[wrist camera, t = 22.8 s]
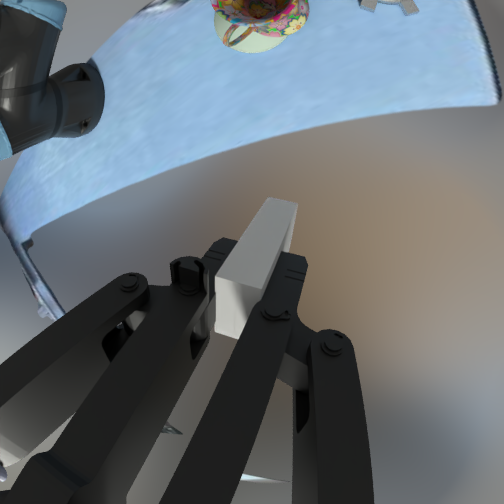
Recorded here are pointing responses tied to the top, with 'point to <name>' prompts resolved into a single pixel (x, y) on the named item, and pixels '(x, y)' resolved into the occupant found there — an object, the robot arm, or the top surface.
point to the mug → (262, 17)
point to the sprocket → (405, 4)
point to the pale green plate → (251, 42)
